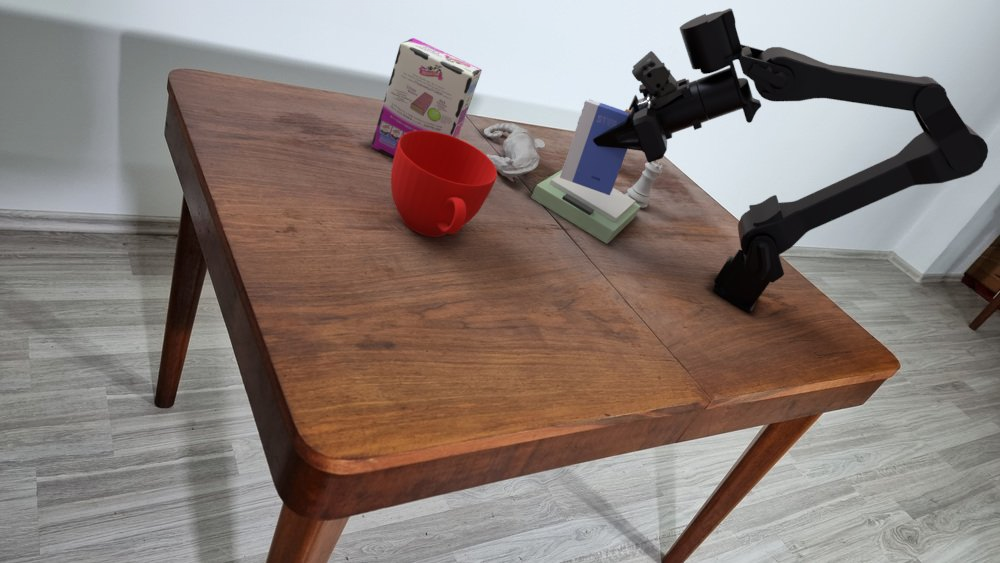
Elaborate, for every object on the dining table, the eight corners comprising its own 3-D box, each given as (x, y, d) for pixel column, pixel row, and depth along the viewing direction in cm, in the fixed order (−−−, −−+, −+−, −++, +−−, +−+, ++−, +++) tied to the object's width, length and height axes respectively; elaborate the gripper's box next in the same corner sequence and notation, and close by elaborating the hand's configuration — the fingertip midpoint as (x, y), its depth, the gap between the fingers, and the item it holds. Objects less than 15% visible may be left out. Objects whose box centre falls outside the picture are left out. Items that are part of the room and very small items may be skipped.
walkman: (611, 191, 106) (640, 113, 101) (609, 195, 103) (638, 116, 98) (562, 173, 107) (588, 95, 102) (559, 177, 104) (585, 98, 99)
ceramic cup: (388, 263, 83) (412, 192, 78) (371, 187, 96) (391, 121, 90) (488, 277, 89) (517, 212, 83) (460, 203, 101) (484, 142, 96)
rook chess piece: (645, 201, 127) (666, 162, 122) (647, 212, 123) (669, 173, 119) (622, 192, 126) (643, 153, 122) (624, 203, 122) (645, 163, 118)
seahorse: (459, 117, 123) (499, 161, 107) (521, 108, 126) (568, 149, 111) (461, 145, 126) (500, 192, 110) (521, 135, 129) (567, 179, 113)
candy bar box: (447, 168, 108) (484, 69, 100) (436, 180, 104) (473, 77, 95) (382, 137, 109) (413, 35, 100) (368, 147, 105) (399, 41, 96)
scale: (634, 217, 119) (643, 202, 117) (606, 244, 108) (616, 227, 106) (564, 176, 122) (572, 160, 121) (530, 197, 111) (538, 180, 109)
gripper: (683, 30, 101) (582, 71, 107) (684, 59, 86) (565, 105, 92) (707, 102, 106) (608, 138, 112) (711, 143, 90) (595, 182, 96)
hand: (594, 139), depth 102 cm, fingers closed on walkman, 2 cm apart
